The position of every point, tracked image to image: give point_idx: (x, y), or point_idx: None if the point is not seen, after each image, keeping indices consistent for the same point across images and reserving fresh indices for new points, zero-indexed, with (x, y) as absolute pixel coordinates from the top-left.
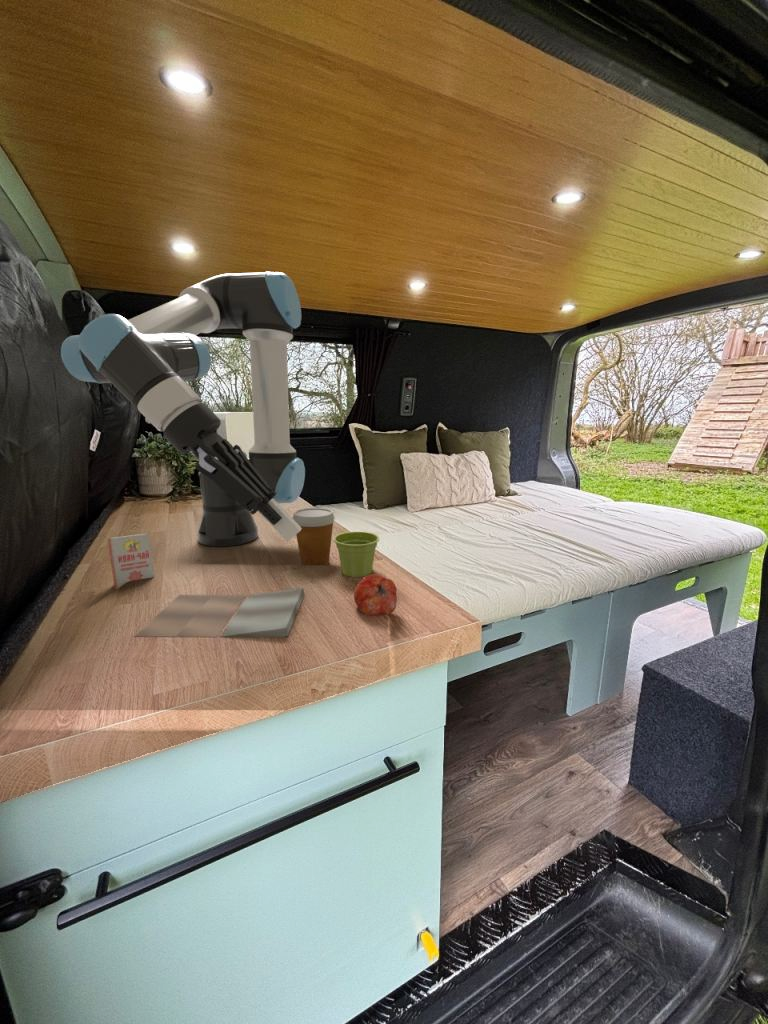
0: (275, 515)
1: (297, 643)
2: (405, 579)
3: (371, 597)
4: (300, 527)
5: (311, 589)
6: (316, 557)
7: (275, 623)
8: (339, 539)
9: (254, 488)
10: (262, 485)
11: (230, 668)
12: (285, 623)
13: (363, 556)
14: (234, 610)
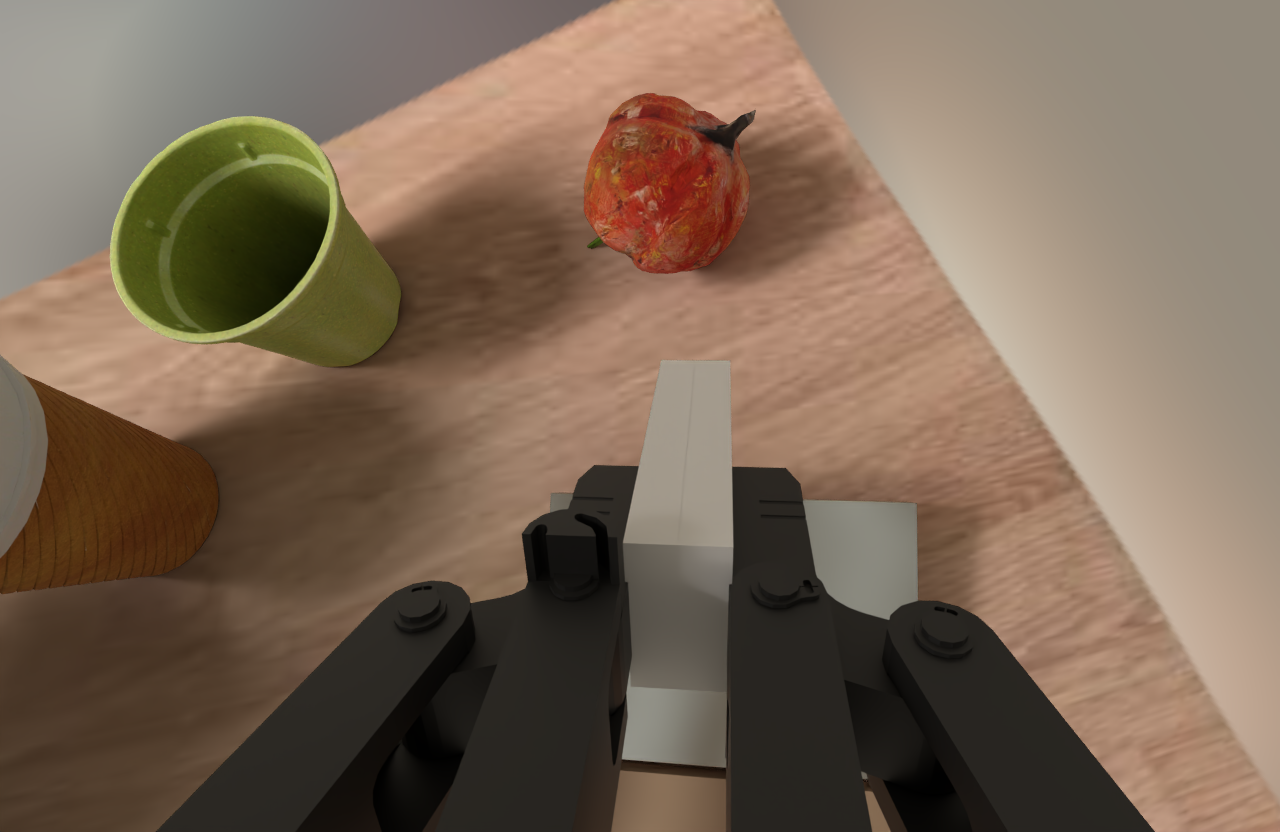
0: (801, 503)
1: (882, 476)
2: (394, 129)
3: (738, 184)
4: (670, 364)
5: (447, 486)
6: (184, 484)
7: (868, 555)
8: (178, 325)
9: (856, 746)
10: (516, 695)
11: (1058, 685)
12: (879, 512)
13: (352, 221)
14: (691, 780)
